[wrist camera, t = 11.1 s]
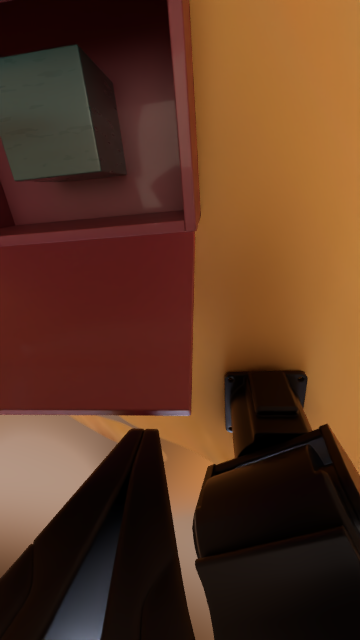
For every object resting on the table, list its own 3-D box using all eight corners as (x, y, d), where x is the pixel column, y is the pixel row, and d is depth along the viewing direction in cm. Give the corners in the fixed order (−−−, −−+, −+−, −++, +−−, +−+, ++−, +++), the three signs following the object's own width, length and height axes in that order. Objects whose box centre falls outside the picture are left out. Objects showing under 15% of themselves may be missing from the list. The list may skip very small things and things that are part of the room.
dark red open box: (200, 216, 17) (195, 234, 11) (16, 232, 19) (-84, 256, 13) (179, -179, 11) (135, -715, 4) (-98, -103, 13) (-429, -414, 6)
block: (112, 81, 14) (127, 175, 16) (36, 93, 15) (59, 182, 17) (77, 42, 11) (101, 171, 12) (-25, 60, 11) (14, 181, 13)
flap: (194, 230, 11) (195, 238, 11) (-84, 252, 13) (-77, 259, 13) (189, 410, 6) (191, 416, 7) (-249, 409, 8) (-230, 414, 8)
